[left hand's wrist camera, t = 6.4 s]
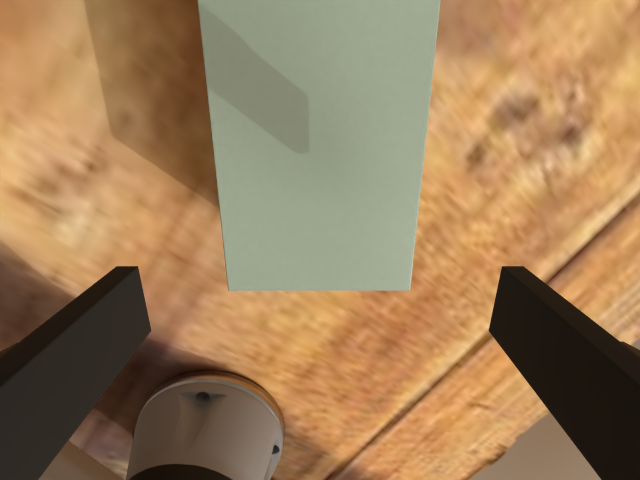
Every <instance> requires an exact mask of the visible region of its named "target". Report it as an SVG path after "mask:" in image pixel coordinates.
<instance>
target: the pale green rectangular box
mask: <svg viewBox="0 0 640 480" xmlns="http://www.w3.org/2000/svg"><path fill="white" fill-rule="evenodd" d="M197 1H198V10H199V20H200V29H201V39H202V48H203V57H204V67H205V76H206V86H207V95H208V104H209V114H210V123H211V133H212V142H213V152H214V161H215V170H216V180H217V189H218V199H219V208H220V217H221V227H222V236H223V246H224V255H225V265H226V274H227V283H228V290H229V291H404V290H410V287H411V277H412V268H413V258H414V249H415V239H416V230H417V220H418V210H419V201H420V191H421V182H422V172H423V163H424V153H425V144H426V134H427V125H428V115H429V106H430V96H431V87H432V77H433V67H434V58H435V48H436V39H437V29H438V20H439V10H440V1H441V0H197Z"/></svg>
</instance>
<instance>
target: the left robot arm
mask: <svg viewBox="0 0 640 480" xmlns="http://www.w3.org/2000/svg"><path fill="white" fill-rule="evenodd" d="M150 332H151V327H150V322H149V317H148V313H147V308H146V303H145V298H144V293H143V289H142V284H141V279H140V274H139V269H138V266H117V267H115V268H114V269H113V270H111V271H110V272H109V273H108V274H106V275H105V276H104V277H102V278H101V279H100V280H99V281H97V282H96V283H95V284H93V285H92V286H91V287H90V288H88V289H87V290H86V291H84V292H83V293H82V294H81V295H79V296H78V297H77V298H76V299H74V300H73V301H72V302H70V303H69V304H68V305H67V306H65V307H64V308H63V309H61V310H60V311H59V312H58V313H56V314H55V315H54V316H52V317H51V318H50V319H49V320H47V321H46V322H45V323H43V324H42V325H41V326H40V327H38V328H37V329H36V330H34V331H33V332H32V333H31V334H29V335H28V336H27V337H26V338H24V339H23V340H22V341H20V342H19V343H16V344H14V345H12V346H10V347H8V348H6V349H5V350H3V351H1V352H0V480H123V479H122V478H121V477H119V476H118V475H116V474H115V473H114V472H112V471H111V470H109V469H108V468H106V467H105V466H104V465H102V464H101V463H99V462H98V461H97V460H95V459H94V458H92V457H91V456H89V455H88V454H87V453H85V452H84V451H82V450H81V449H80V448H78V447H77V446H75V445H74V444H72V443H71V442H70V441H68V440H69V439H70V437H71V436H72V435H73V433H74V432H75V431H76V429H77V428H78V427H79V425H80V424H81V423H82V422H83V420H84V419H85V418H86V416H87V415H88V414H89V412H90V411H91V410H92V408H93V407H94V406H95V404H96V403H97V402H98V400H99V399H100V398H101V396H102V395H103V394H104V392H105V391H106V390H107V388H108V387H109V386H110V385H111V383H112V382H113V381H114V379H115V378H116V377H117V375H118V374H119V373H120V371H121V370H122V369H123V367H124V366H125V365H126V363H127V362H128V361H129V359H130V358H131V357H132V355H133V354H134V353H135V351H136V350H137V349H138V348H139V346H140V345H141V344H142V342H143V341H144V340H145V338H146V337H147V336H148V334H149V333H150ZM489 332H490V333H491V334H492V336H493V337H494V338H495V340H496V341H497V342H498V344H499V345H500V346H501V348H502V349H503V350H504V351H505V353H506V354H507V355H508V357H509V358H510V359H511V361H512V362H513V363H514V365H515V366H516V367H517V369H518V370H519V371H520V373H521V374H522V375H523V377H524V378H525V379H526V381H527V382H528V383H529V385H530V386H531V387H532V388H533V390H534V391H535V392H536V394H537V395H538V396H539V398H540V399H541V400H542V402H543V403H544V404H545V406H546V407H547V408H548V410H549V411H550V412H551V414H552V415H553V416H554V417H555V419H556V420H557V421H558V423H559V424H560V425H561V427H562V428H563V429H564V431H565V432H566V433H567V435H568V436H569V437H570V439H571V440H572V441H573V443H574V444H575V445H576V447H577V448H578V449H579V451H580V452H581V453H582V454H583V456H584V457H585V458H586V460H587V461H588V462H589V464H590V465H591V466H592V468H593V469H594V470H595V472H596V473H597V474H598V476H599V477H600V478H601V480H640V350H638V349H636V348H634V347H633V346H631V345H629V344H627V343H625V342H620V341H618V340H617V339H616V338H614V337H613V336H612V335H611V334H609V333H608V332H607V331H606V330H604V329H603V328H602V327H600V326H599V325H598V324H597V323H595V322H594V321H593V320H591V319H590V318H589V317H588V316H586V315H585V314H584V313H582V312H581V311H580V310H579V309H577V308H576V307H575V306H573V305H572V304H571V303H570V302H568V301H567V300H566V299H564V298H563V297H562V296H561V295H559V294H558V293H557V292H556V291H554V290H553V289H552V288H550V287H549V286H548V285H547V284H545V283H544V282H543V281H541V280H540V279H539V278H538V277H536V276H535V275H534V274H532V273H531V272H530V271H529V270H527V269H526V268H525V267H523V266H502V269H501V274H500V279H499V284H498V289H497V293H496V298H495V303H494V308H493V313H492V317H491V322H490V327H489ZM284 435H285V423H284V418H283V415H282V412H281V410H280V408H279V406H278V405H277V403H276V402H275V400H274V399H273V398H272V397H271V396H270V395H269V394H268V393H267V392H266V391H265V390H264V389H262V388H261V387H260V386H258V385H256V384H255V383H253V382H251V381H249V380H247V379H245V378H243V377H240V376H237V375H234V374H230V373H226V372H220V371H194V372H188V373H184V374H181V375H178V376H175V377H173V378H171V379H169V380H167V381H165V382H164V383H162V384H161V385H160V386H158V387H157V388H156V389H155V390H154V391H153V393H152V394H151V395H150V397H149V398H148V400H147V402H146V404H145V405H144V407H143V409H142V410H141V412H140V414H139V417H138V420H137V424H136V427H135V433H134V432H133V430H132V437H133V443H132V448H131V454H130V459H129V465H128V470H127V475H126V480H270V479H271V477H272V475H273V472H274V470H275V468H276V466H277V464H278V462H279V459H280V456H281V453H282V450H283V444H284Z"/></svg>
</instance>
